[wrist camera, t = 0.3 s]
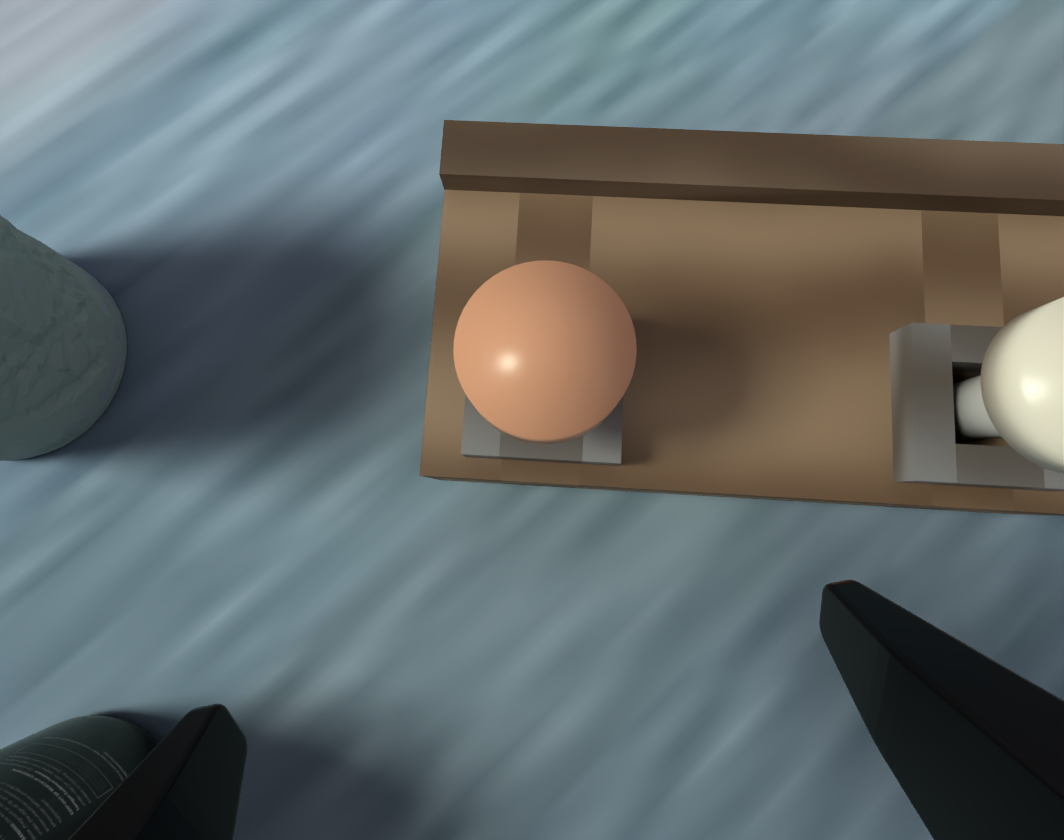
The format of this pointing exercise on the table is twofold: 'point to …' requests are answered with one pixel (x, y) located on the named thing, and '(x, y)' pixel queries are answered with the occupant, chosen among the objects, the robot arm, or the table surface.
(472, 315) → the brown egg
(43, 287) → the grey green plant pot
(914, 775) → the robot arm
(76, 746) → the supplement bottle
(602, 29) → the table surface
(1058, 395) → the button cream
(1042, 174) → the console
